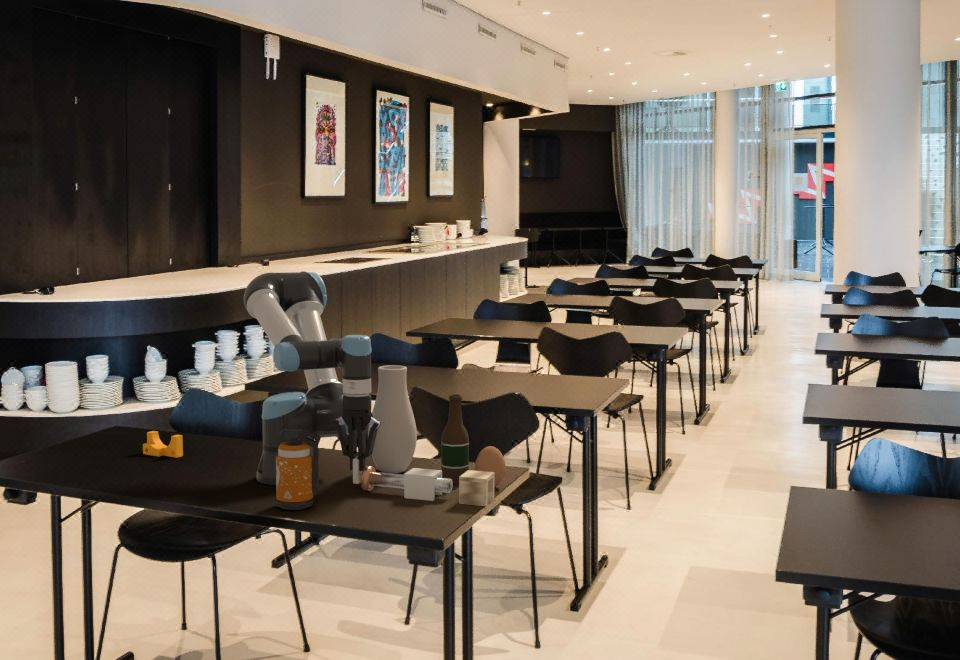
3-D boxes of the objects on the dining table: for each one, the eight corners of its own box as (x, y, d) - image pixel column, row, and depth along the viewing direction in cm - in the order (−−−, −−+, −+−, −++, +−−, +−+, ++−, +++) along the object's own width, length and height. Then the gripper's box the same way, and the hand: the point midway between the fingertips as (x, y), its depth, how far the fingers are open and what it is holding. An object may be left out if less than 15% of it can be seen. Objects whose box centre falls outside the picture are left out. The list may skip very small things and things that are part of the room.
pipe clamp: (143, 454, 313) (142, 433, 312) (154, 451, 317) (153, 430, 316) (172, 459, 307) (171, 438, 307) (182, 456, 311) (182, 435, 310)
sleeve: (404, 498, 268) (404, 473, 267) (413, 491, 274) (413, 467, 273) (433, 500, 266) (433, 476, 265) (441, 494, 272) (442, 470, 271)
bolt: (360, 493, 272) (360, 469, 271) (370, 486, 278) (370, 463, 277) (446, 501, 265) (446, 476, 264) (454, 494, 271) (454, 470, 270)
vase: (370, 478, 287) (370, 371, 283) (365, 466, 300) (365, 364, 297) (420, 476, 290) (420, 370, 286) (412, 464, 303) (413, 363, 299)
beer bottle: (465, 485, 281) (466, 398, 278) (437, 483, 282) (438, 396, 279) (471, 478, 288) (472, 393, 285) (444, 476, 290) (445, 391, 287)
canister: (278, 501, 263) (277, 424, 261) (322, 501, 264) (322, 424, 262) (274, 512, 254) (273, 431, 252) (320, 511, 255) (319, 431, 253)
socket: (459, 503, 263) (459, 476, 263) (467, 496, 270) (467, 470, 269) (486, 506, 261) (486, 479, 260) (494, 498, 268) (494, 472, 267)
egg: (509, 490, 276) (510, 448, 275) (479, 492, 274) (480, 450, 273) (500, 482, 284) (500, 442, 283) (471, 484, 282) (471, 443, 281)
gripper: (328, 395, 271) (329, 483, 273) (374, 397, 267) (374, 487, 269) (340, 390, 278) (341, 477, 280) (385, 393, 274) (386, 481, 276)
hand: (357, 482), depth 275 cm, fingers closed
